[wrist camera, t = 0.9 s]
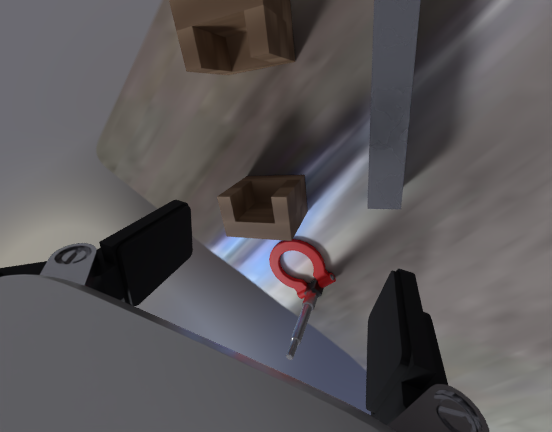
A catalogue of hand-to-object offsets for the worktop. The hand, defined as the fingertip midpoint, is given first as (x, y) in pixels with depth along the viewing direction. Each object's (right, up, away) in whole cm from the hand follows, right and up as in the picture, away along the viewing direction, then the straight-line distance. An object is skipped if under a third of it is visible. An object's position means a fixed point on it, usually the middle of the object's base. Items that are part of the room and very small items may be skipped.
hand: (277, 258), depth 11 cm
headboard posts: (-1, +13, +18) cm, 22 cm away
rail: (+11, +12, +14) cm, 22 cm away
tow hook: (+4, -5, +26) cm, 27 cm away
